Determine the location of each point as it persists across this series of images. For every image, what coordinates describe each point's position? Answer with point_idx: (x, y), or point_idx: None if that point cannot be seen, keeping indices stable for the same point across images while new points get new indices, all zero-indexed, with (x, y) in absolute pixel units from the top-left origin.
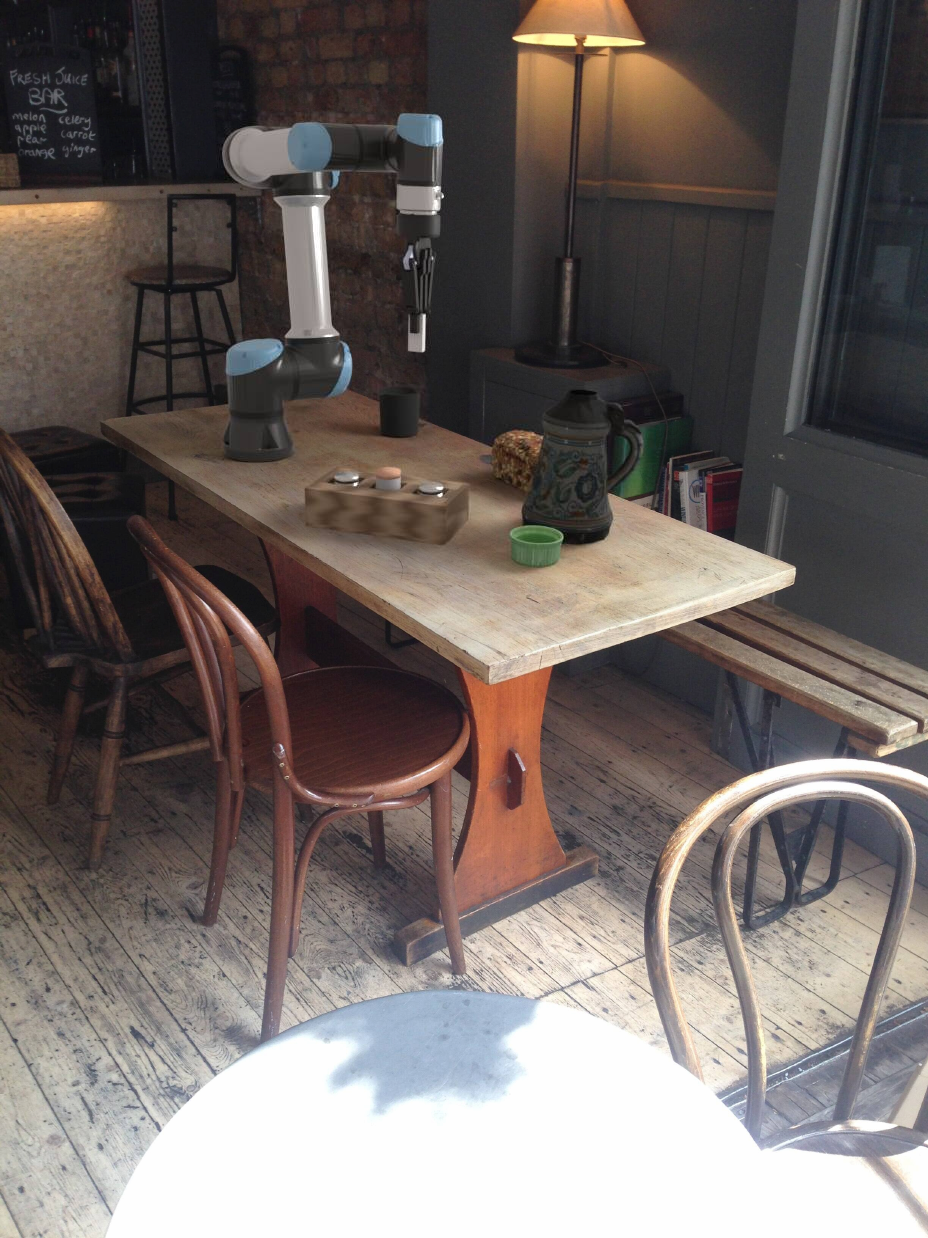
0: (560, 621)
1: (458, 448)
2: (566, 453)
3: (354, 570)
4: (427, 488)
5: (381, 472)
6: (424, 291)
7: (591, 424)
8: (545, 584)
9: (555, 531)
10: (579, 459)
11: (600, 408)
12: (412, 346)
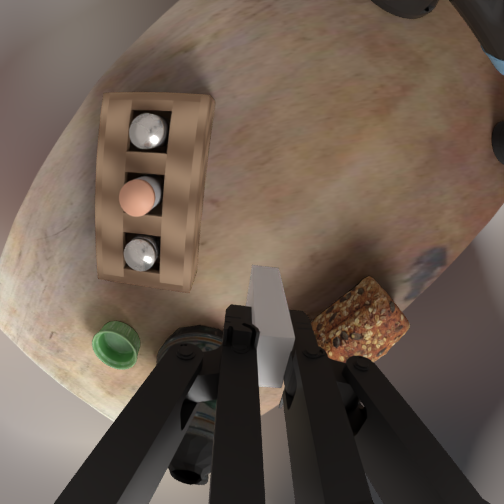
0: (36, 348)
1: (466, 217)
2: None
3: (36, 195)
4: (126, 253)
5: (123, 191)
6: (290, 460)
7: None
8: (77, 344)
9: (131, 364)
10: None
11: (180, 473)
12: (250, 285)
